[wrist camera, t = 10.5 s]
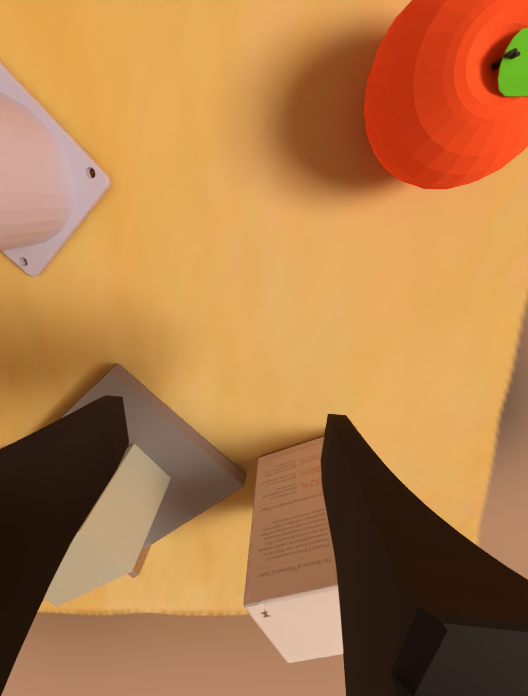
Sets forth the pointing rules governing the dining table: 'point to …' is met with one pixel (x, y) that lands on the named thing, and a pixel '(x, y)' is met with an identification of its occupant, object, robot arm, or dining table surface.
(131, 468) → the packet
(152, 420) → the grey square slab
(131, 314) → the dining table surface
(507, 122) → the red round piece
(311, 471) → the small box
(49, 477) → the robot arm
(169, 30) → the dining table surface
